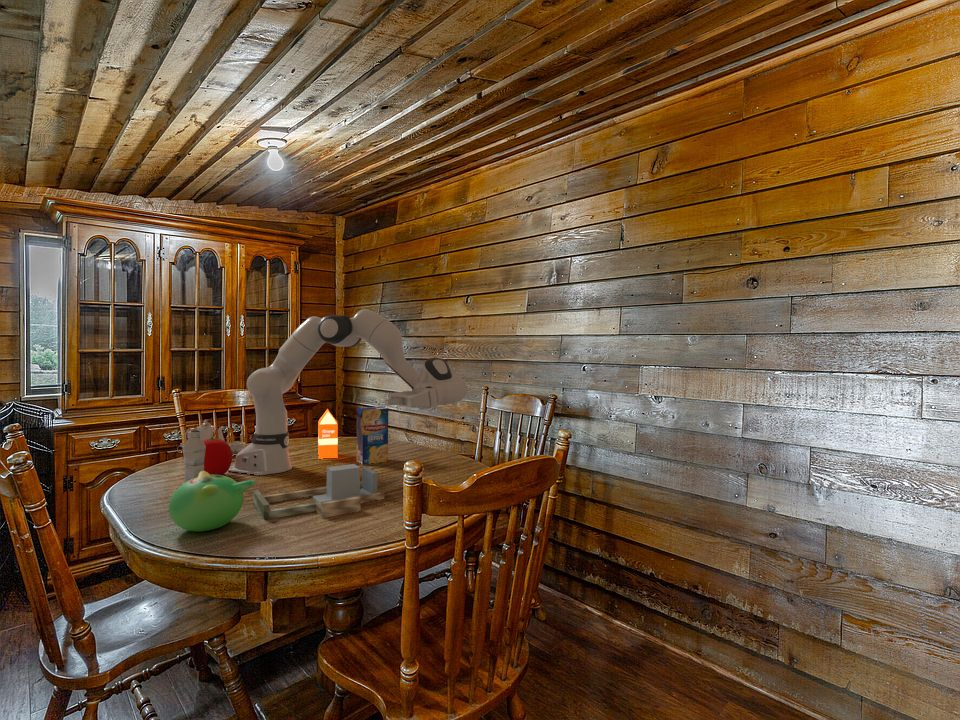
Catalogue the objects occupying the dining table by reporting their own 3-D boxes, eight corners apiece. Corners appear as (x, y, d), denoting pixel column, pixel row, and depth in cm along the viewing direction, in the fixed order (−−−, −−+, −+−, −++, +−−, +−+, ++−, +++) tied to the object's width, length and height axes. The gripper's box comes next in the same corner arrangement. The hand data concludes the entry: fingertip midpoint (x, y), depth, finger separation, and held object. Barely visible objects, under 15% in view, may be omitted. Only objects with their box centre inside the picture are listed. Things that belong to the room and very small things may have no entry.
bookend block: (366, 490, 175) (366, 460, 174) (377, 498, 167) (377, 466, 166) (311, 498, 165) (311, 467, 164) (320, 507, 157) (320, 474, 156)
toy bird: (214, 513, 149) (214, 462, 149) (259, 522, 143) (259, 469, 142) (154, 535, 133) (153, 477, 132) (202, 546, 126) (201, 486, 126)
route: (365, 486, 178) (365, 475, 178) (393, 505, 159) (393, 492, 159) (252, 503, 158) (252, 490, 158) (269, 527, 139) (269, 512, 139)
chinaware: (250, 456, 227) (251, 417, 228) (238, 461, 210) (239, 420, 211) (181, 457, 223) (182, 418, 224) (163, 462, 206) (164, 420, 207)
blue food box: (388, 461, 214) (388, 408, 213) (362, 465, 208) (362, 409, 207) (381, 458, 220) (381, 406, 219) (356, 461, 214) (356, 407, 213)
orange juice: (336, 453, 227) (336, 408, 226) (337, 458, 218) (338, 410, 217) (317, 454, 224) (317, 408, 223) (318, 459, 216) (318, 411, 215)
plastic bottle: (211, 491, 170) (210, 430, 169) (191, 497, 163) (191, 433, 163) (197, 489, 172) (197, 428, 171) (178, 494, 166) (177, 432, 165)
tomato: (188, 480, 182) (187, 440, 181) (200, 472, 193) (199, 434, 193) (226, 479, 184) (226, 439, 183) (236, 471, 195) (236, 433, 195)
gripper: (410, 385, 188) (373, 391, 180) (436, 388, 170) (396, 395, 163) (412, 403, 188) (375, 410, 181) (438, 407, 171) (399, 414, 163)
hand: (386, 402), depth 172 cm, fingers closed
